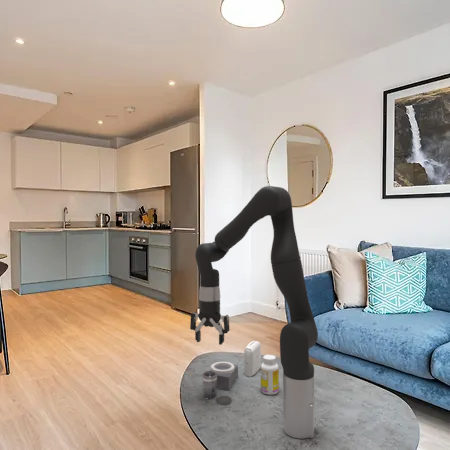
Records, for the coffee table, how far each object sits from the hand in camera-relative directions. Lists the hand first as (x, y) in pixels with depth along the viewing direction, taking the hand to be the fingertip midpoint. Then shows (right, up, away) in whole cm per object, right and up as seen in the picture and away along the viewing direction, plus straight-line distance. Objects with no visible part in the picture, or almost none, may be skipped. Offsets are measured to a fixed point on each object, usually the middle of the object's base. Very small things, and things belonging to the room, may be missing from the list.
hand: (209, 342), depth 132 cm
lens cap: (+5, -20, -3) cm, 21 cm away
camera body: (+5, -19, +11) cm, 23 cm away
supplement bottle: (+22, -19, +4) cm, 30 cm away
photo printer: (+17, -19, +21) cm, 33 cm away
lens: (0, -19, 0) cm, 19 cm away
